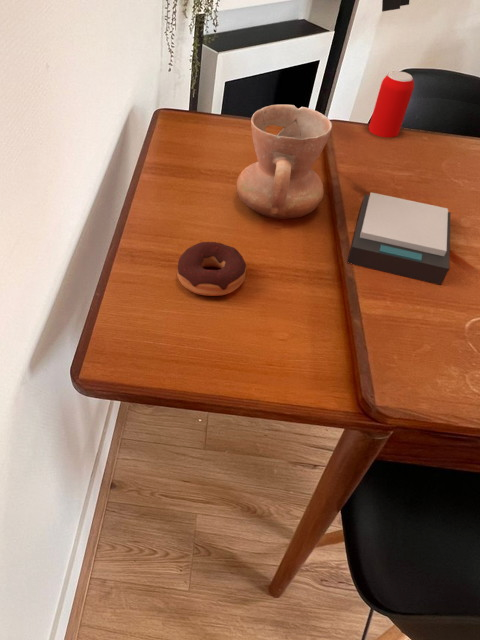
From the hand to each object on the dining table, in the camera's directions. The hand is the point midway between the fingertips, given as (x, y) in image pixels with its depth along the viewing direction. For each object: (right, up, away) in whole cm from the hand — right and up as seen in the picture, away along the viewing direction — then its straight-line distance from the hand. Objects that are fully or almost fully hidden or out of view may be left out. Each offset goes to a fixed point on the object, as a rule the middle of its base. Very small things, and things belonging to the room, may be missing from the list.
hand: (396, 8), depth 91 cm
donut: (-32, -49, -15) cm, 61 cm away
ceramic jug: (-21, -35, -1) cm, 40 cm away
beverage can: (+4, -14, +19) cm, 24 cm away
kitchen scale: (-2, -42, -7) cm, 43 cm away
